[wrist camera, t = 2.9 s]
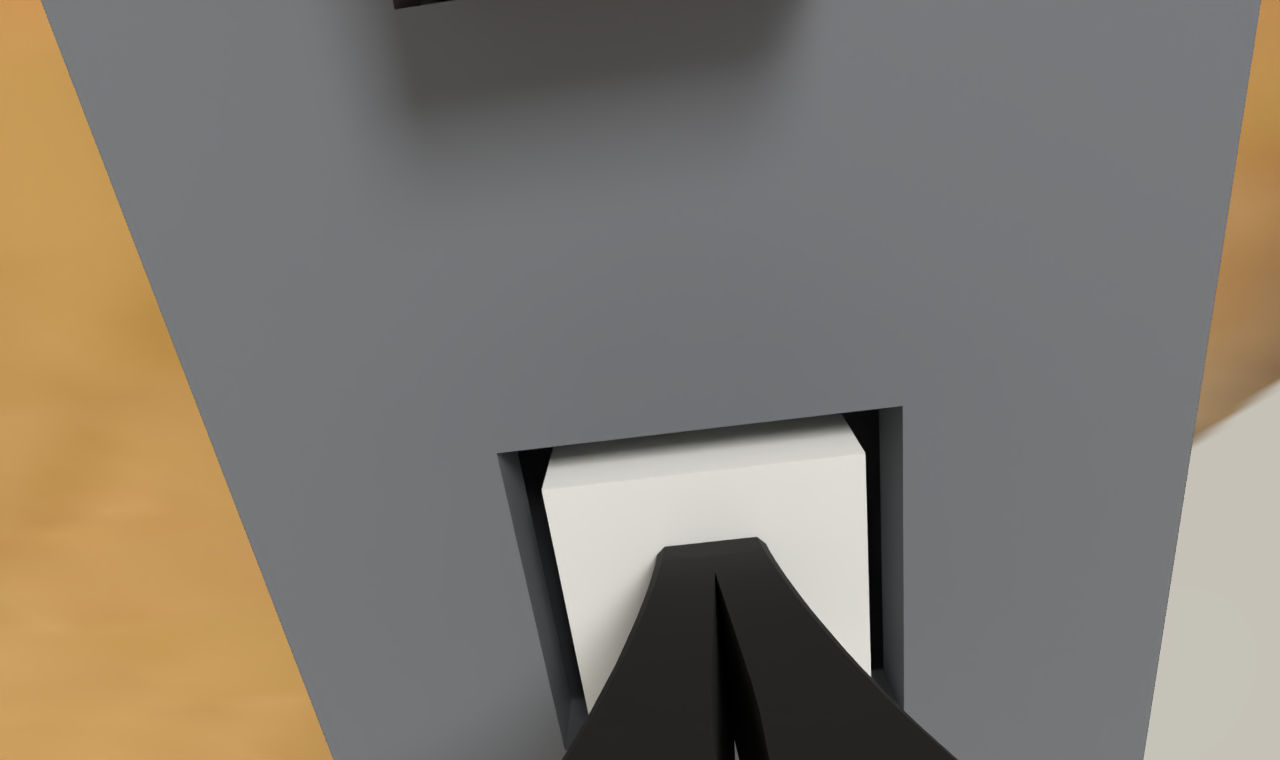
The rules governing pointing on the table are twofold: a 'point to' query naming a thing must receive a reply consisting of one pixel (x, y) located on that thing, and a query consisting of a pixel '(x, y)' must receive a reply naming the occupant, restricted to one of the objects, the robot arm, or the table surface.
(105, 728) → the table surface
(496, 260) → the console
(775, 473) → the white button
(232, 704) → the table surface
